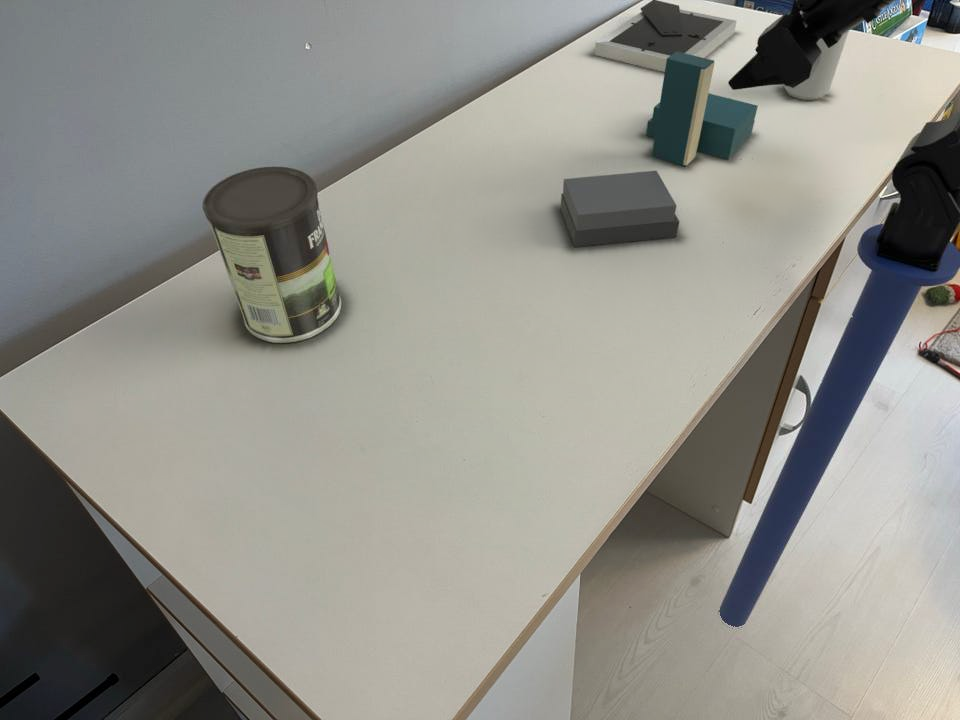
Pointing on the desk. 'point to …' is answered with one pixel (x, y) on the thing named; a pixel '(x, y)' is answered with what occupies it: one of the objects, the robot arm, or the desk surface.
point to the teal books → (719, 125)
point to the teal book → (682, 107)
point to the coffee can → (275, 252)
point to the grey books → (618, 208)
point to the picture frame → (664, 35)
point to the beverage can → (820, 72)
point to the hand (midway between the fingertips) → (744, 68)
